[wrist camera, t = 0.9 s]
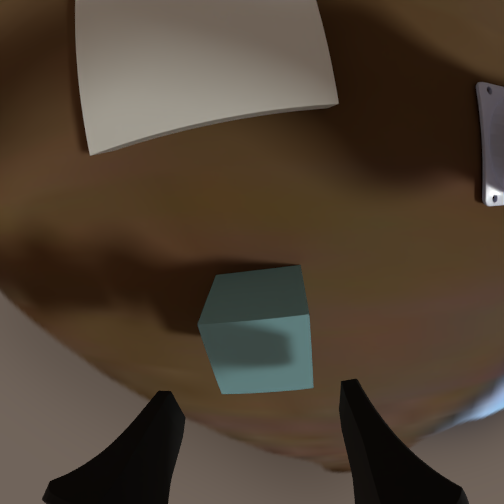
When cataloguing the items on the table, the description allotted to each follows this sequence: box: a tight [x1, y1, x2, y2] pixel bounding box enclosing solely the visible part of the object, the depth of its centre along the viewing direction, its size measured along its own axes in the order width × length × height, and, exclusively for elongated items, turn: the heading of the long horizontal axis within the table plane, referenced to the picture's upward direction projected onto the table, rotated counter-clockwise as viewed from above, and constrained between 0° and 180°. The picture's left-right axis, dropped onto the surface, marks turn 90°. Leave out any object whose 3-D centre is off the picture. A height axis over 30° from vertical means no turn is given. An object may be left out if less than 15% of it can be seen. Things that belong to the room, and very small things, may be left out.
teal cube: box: [197, 265, 313, 394], centre depth 16 cm, size 5×5×5 cm
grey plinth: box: [75, 0, 339, 156], centre depth 11 cm, size 12×12×3 cm
